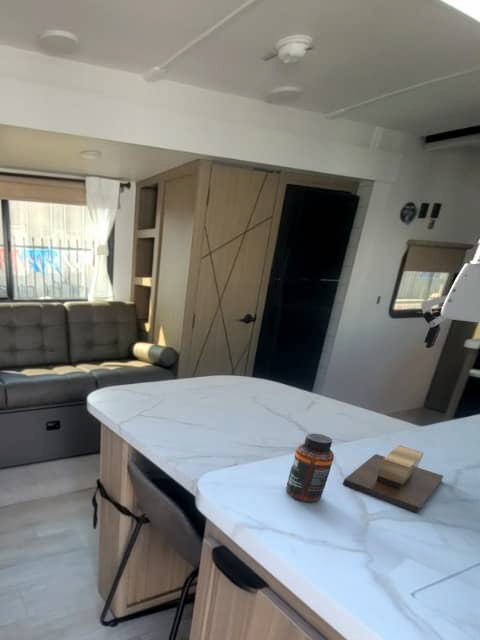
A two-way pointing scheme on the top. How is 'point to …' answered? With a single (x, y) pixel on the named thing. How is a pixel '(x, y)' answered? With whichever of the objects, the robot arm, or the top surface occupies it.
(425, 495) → the board
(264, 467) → the top surface
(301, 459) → the supplement bottle
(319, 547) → the top surface
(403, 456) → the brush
